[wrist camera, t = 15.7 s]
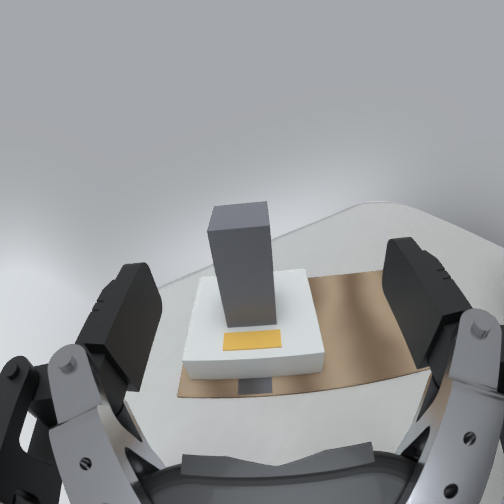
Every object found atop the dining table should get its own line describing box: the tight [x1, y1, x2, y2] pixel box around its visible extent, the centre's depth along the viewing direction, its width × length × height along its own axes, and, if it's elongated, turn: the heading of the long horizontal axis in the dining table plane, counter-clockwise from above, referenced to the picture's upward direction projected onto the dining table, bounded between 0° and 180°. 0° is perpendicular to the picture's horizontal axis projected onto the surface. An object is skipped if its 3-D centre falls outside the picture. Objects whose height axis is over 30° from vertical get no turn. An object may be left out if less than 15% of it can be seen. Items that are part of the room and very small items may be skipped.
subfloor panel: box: [177, 270, 430, 398], centre depth 30 cm, size 24×16×1 cm, turn 90°
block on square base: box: [182, 201, 325, 379], centre depth 26 cm, size 12×12×13 cm
